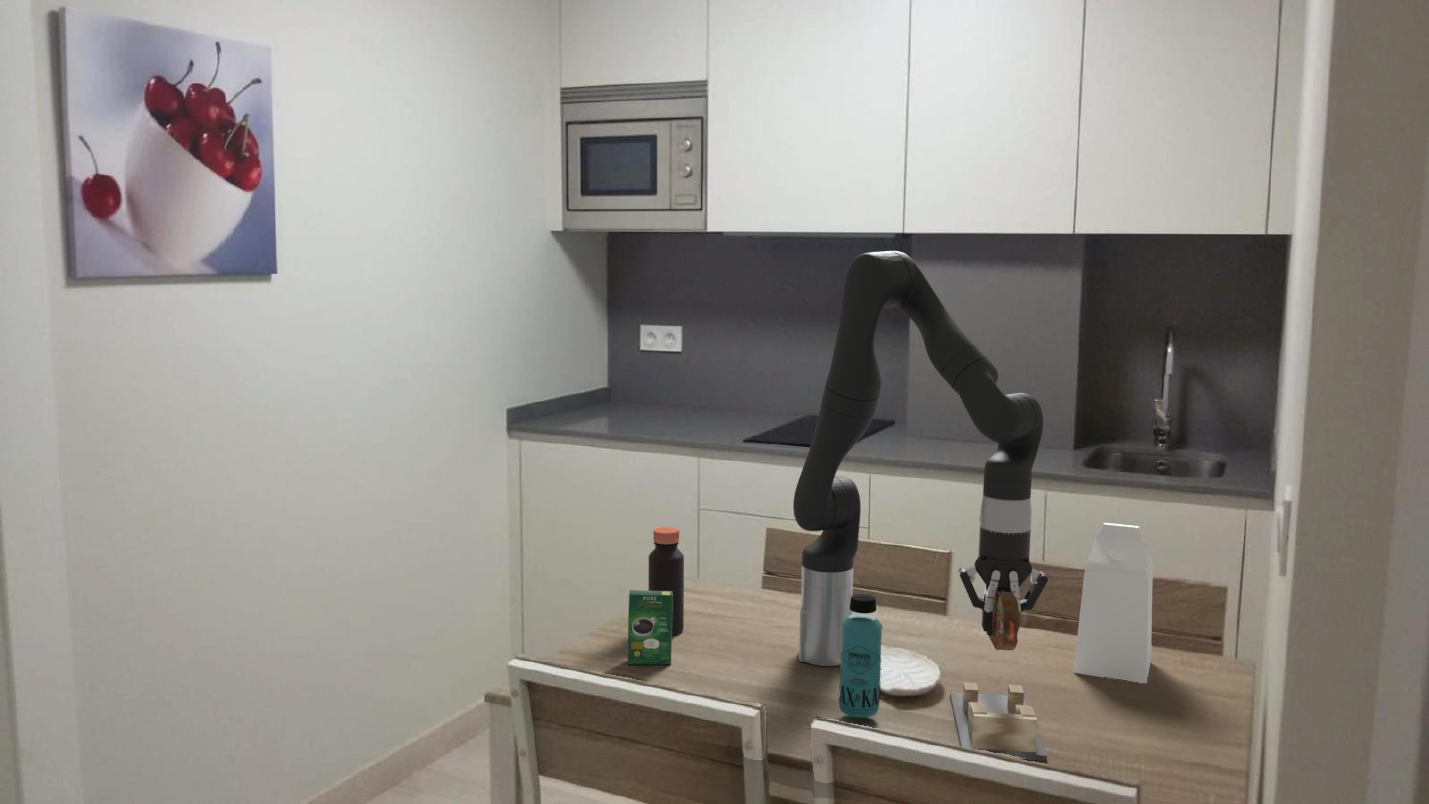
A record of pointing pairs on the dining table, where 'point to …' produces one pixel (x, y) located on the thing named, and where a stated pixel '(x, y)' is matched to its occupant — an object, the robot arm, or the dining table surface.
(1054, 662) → the dining table surface
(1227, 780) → the dining table surface
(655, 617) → the coffee box
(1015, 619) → the tin
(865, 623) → the beverage bottle
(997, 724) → the clip
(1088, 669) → the milk
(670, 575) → the vinegar
